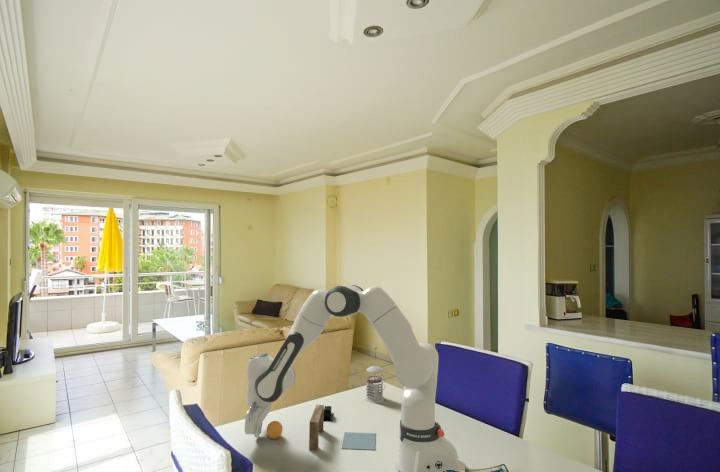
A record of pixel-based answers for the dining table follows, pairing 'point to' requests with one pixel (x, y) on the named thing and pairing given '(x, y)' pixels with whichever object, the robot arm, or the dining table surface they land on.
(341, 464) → the dining table surface
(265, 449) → the dining table surface
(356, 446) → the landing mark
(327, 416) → the black stepped block
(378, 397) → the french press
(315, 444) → the bridge
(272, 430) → the ball
